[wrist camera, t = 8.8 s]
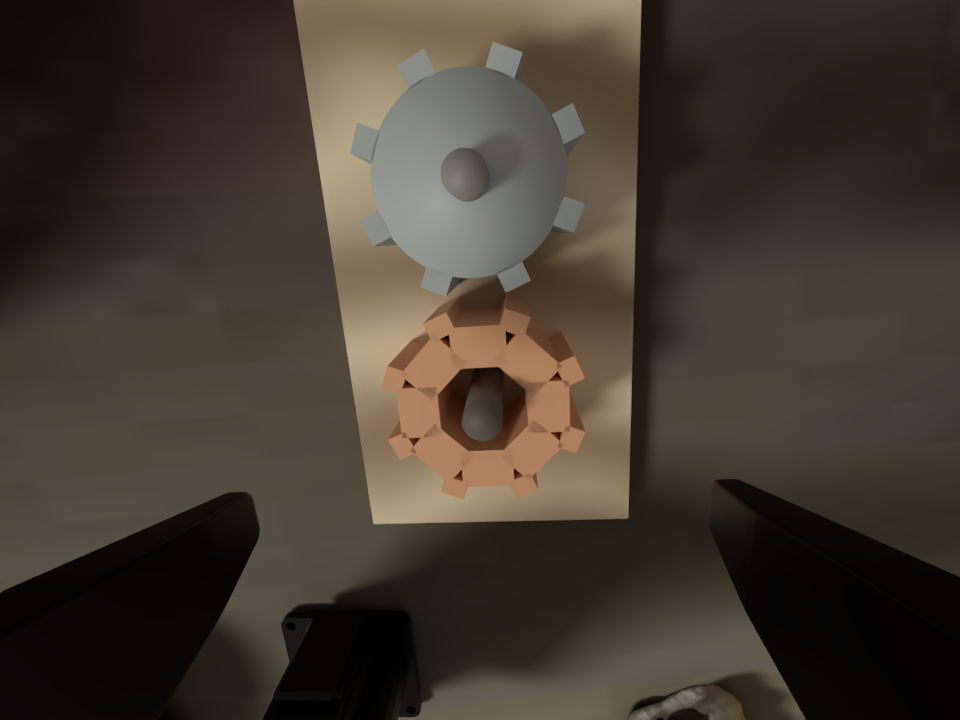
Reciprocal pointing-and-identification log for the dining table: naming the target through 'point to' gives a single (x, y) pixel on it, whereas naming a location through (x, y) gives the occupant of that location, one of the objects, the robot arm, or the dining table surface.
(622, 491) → the gear board
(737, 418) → the dining table surface
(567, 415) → the gear
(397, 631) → the robot arm
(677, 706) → the pastry
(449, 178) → the gear
